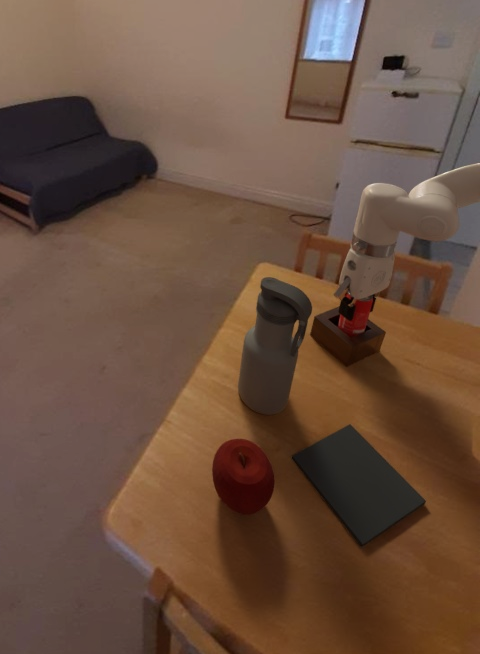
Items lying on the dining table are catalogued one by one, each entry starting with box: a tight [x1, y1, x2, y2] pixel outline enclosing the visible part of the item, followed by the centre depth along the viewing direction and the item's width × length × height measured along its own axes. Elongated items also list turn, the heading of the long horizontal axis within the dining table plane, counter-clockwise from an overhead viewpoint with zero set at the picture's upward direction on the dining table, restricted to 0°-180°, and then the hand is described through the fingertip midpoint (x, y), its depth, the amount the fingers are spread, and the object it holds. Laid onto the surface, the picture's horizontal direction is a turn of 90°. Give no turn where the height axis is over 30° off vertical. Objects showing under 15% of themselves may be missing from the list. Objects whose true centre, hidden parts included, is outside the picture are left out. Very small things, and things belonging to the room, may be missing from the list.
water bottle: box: [237, 276, 313, 416], centre depth 76 cm, size 10×10×28 cm
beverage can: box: [338, 293, 373, 338], centre depth 90 cm, size 5×5×12 cm
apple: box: [211, 438, 276, 516], centre depth 64 cm, size 10×10×10 cm
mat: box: [291, 423, 427, 549], centre depth 68 cm, size 14×14×1 cm
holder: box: [309, 305, 387, 368], centre depth 92 cm, size 10×10×6 cm
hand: (355, 311), depth 89 cm, fingers closed on beverage can, 5 cm apart
